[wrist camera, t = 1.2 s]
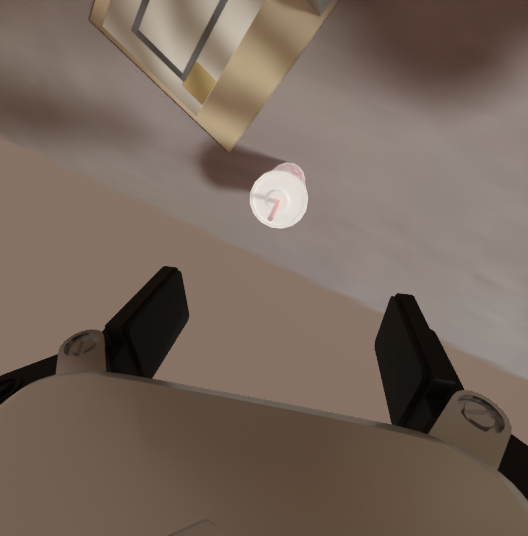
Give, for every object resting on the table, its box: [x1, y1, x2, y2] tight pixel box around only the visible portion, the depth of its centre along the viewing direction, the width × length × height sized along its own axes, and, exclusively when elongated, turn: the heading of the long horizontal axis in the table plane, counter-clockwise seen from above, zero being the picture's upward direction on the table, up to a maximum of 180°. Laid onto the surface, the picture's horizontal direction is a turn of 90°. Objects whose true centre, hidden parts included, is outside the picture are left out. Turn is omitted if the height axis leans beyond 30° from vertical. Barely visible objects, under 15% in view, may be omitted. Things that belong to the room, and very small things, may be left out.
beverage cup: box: [250, 162, 308, 229], centre depth 28 cm, size 6×6×14 cm
